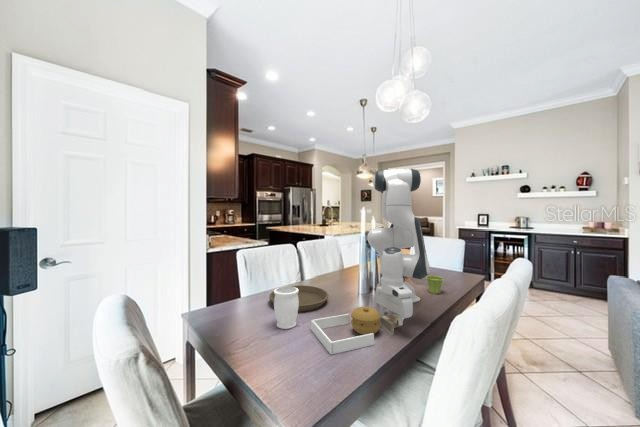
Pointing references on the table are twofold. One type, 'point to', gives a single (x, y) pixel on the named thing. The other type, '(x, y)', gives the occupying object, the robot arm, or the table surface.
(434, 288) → the plant pot
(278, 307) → the jar
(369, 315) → the pot
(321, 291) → the plant saucer
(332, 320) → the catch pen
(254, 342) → the table surface
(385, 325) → the scraper
